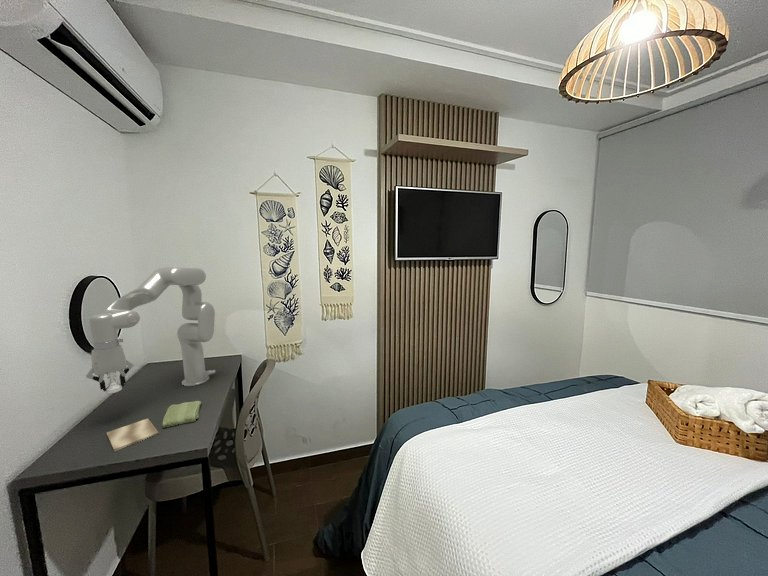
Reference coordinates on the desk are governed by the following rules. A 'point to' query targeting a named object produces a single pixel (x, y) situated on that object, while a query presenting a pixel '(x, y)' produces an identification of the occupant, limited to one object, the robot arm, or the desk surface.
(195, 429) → the desk surface
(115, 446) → the oak pad
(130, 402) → the desk surface
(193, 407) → the washcloth
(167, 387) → the desk surface
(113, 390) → the chess pawn
